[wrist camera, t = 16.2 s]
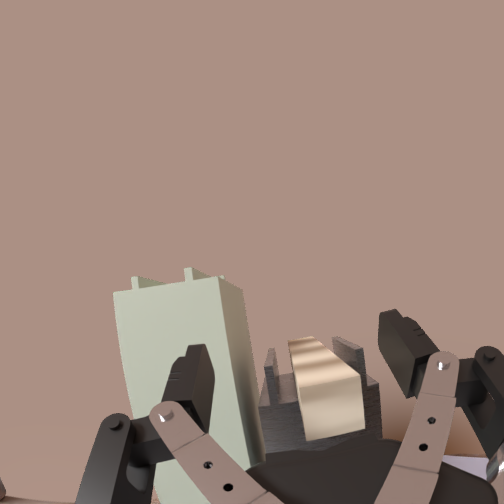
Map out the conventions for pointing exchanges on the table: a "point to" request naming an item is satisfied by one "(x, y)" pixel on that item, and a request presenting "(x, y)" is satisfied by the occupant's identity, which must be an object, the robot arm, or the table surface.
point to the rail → (325, 390)
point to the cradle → (288, 409)
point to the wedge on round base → (468, 464)
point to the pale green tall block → (175, 345)
